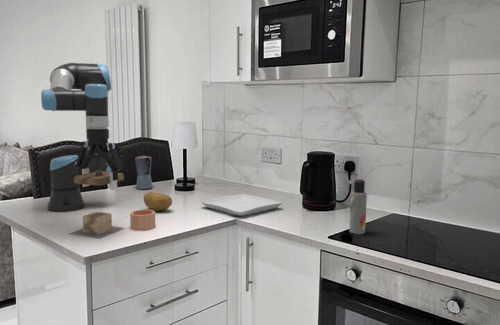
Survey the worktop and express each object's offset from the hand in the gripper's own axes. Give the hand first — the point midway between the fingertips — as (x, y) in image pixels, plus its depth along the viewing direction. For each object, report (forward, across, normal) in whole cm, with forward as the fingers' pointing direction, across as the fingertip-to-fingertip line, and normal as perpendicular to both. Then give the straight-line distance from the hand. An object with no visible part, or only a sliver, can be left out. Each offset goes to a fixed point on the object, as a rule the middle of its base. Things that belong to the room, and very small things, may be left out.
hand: (99, 187), depth 154 cm
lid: (-2, 0, 0) cm, 2 cm away
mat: (+16, -1, -1) cm, 16 cm away
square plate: (+17, +32, +55) cm, 66 cm away
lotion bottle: (+17, +86, +40) cm, 97 cm away
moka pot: (+17, -35, +74) cm, 83 cm away
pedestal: (+16, -1, -1) cm, 16 cm away
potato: (+17, 0, +35) cm, 39 cm away
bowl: (+16, +11, +10) cm, 22 cm away
